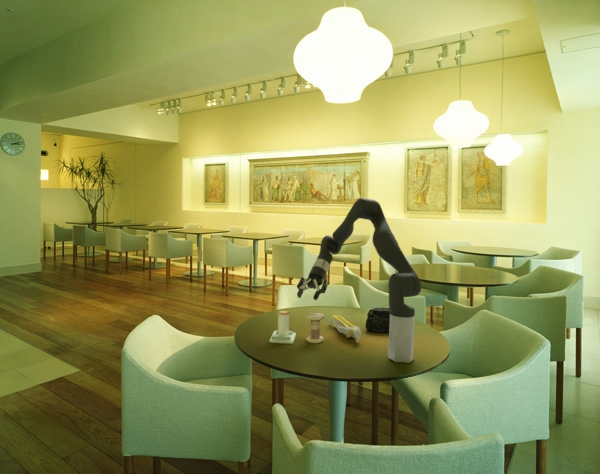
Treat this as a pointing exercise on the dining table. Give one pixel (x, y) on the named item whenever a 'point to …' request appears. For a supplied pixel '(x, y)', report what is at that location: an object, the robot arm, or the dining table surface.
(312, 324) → the bobbin
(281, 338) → the ridged board
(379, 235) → the robot arm
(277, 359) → the dining table surface
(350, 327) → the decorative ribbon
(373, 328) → the rock
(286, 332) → the block
